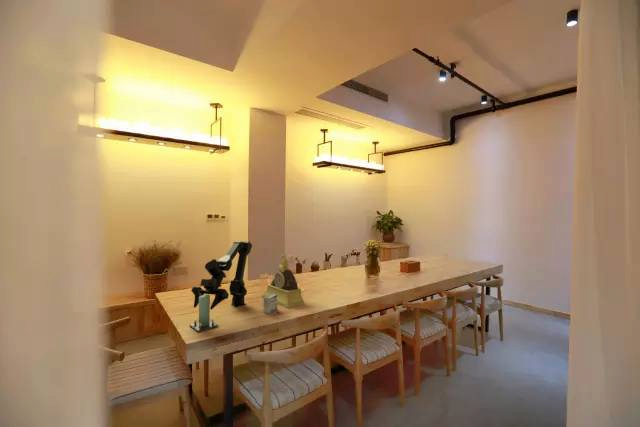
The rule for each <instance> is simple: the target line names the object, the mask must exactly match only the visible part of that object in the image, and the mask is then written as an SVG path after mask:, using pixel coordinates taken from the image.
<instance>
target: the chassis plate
mask: <svg viewBox="0 0 640 427" xmlns="http://www.w3.org/2000/svg"><path fill="white" fill-rule="evenodd" d="M214 320H215V319H210V324H209V325H208V326H203V327H202V323H199V321H198V322H197V319H196V318H195V319H193V322H194V323H190V324H189V327H190V328H191V329H192V330H194V331H195V332H196V333H197V334H198V333H199V334H200V333H202V332H204V331H208V330H212V329H215V328H218V327H219V324H218V323H217V322H215V321H214Z"/></svg>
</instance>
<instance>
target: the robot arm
mask: <svg viewBox="0 0 640 427" xmlns="http://www.w3.org/2000/svg"><path fill="white" fill-rule="evenodd" d="M252 248H253V244H252V243H251V241H243V240H242V241H241V240H238V241H237V240H236V241H235V240H234V242H233V243H232V245H231V247H230V248H229V250H228V251H227V252H226V254H224V256H222V257H220V258H218V259H213V258H212V259H211V260H210V261H208V262H207V263H205V264H204V268H205V270H206V271H207V273H208V274H209V275H210V276H211V278H202V279H201V280H200V284H199V285H200V286H193V287H192V288H191V290H190V291H191V292H192V294H193V295H194V302H193V308H197V306H199V296H202V295H210V296H211V295H214V299H213V301H212V303H211V304H210V311H211V310H213V309H214V308H216V307H217V306H218V305H219V304H220V303H222V302H223V301H225V300H228V298H229V295H230V296H232V298H231V305H232V306H234V307H235V308H238V307H241V306H246V305H247V304H246V303H245V296H247V295H248V294H247V293H248V290H247V288H246V286H245V285H246V284H245V281H244V275H245V269H246V263H247V259H248V258H247V257H248V255H249V254H250V253H251V251H252ZM237 254H238V259H237V264H236V269H235V274H234V275H235V276H234V278H233V279H232V280H231V281H230V285H229V287H228V289H229V292H228V291H227V289H225V288H221V287H222V282H223V280H224V279H225V278H227V275H226V272H224V271H227V272H228V271H230V270H231V268H232V266H233V261H234V259H235V257H236V256H237ZM201 286H203V288H202V287H201ZM229 293H230V294H229Z"/></svg>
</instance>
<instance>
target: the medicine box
mask: <svg viewBox="0 0 640 427" xmlns="http://www.w3.org/2000/svg"><path fill="white" fill-rule="evenodd" d="M277 309H278V304H277V295H275V294H271V295H269V296H267V297H265V298H263V313H264V314H271V313H273V312H275V311H276V310H277Z"/></svg>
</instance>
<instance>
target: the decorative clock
mask: <svg viewBox="0 0 640 427" xmlns="http://www.w3.org/2000/svg"><path fill="white" fill-rule="evenodd" d="M301 291H302V289H301V288H299V287H298V282H297V279H296V277H295V275H294V273H293V271H292V270H291V269H289V261H288V259H287V257H286V254H284V253H283V254H281V264H279V265H278V272H276V273H275V275H274V278H273V279H272V281H271V284H267V287H266V291H264V292H263V293H262V294H261V298H263V299H264V298H265V297H267V296H269V295H271V294H275V295H277V306H278V305H279V306H280V307H283V308H285V309H291V308H294V307H298V306H300V305H304V304H305V301H304V299H303V296H302V292H301Z"/></svg>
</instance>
